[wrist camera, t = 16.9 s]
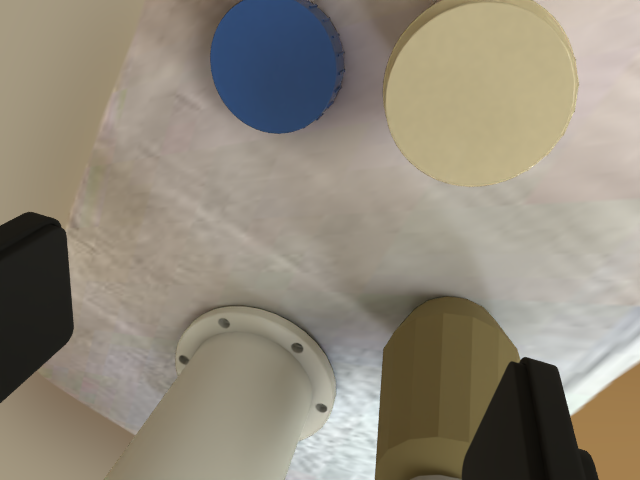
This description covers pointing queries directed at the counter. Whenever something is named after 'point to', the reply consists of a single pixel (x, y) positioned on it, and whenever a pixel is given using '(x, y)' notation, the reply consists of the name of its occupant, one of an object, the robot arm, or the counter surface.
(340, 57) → the lid
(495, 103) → the jar
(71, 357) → the counter surface
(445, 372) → the squeeze bottle
